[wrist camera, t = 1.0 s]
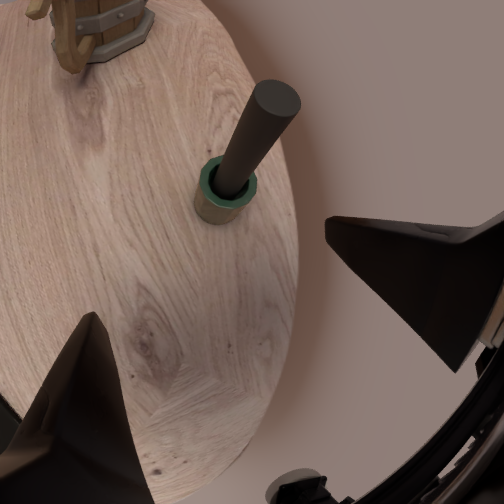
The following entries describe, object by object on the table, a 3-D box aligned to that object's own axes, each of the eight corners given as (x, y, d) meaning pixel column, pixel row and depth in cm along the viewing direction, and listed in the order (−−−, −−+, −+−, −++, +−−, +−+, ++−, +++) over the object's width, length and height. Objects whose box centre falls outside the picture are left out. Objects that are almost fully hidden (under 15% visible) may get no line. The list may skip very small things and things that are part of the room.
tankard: (79, 14, 21) (72, -62, 7) (160, 8, 24) (174, -77, 10) (18, 119, 18) (-36, 28, 4) (119, 111, 22) (101, -19, 7)
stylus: (228, 213, 23) (301, 122, 10) (204, 210, 22) (251, 109, 9) (230, 191, 23) (301, 86, 10) (207, 188, 23) (255, 73, 9)
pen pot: (237, 228, 23) (254, 212, 19) (191, 221, 22) (196, 203, 18) (242, 184, 24) (259, 160, 19) (197, 177, 23) (204, 150, 18)
